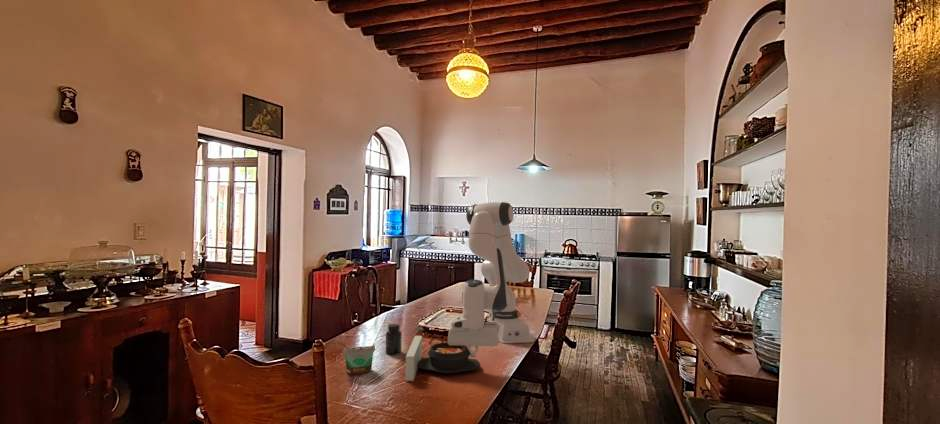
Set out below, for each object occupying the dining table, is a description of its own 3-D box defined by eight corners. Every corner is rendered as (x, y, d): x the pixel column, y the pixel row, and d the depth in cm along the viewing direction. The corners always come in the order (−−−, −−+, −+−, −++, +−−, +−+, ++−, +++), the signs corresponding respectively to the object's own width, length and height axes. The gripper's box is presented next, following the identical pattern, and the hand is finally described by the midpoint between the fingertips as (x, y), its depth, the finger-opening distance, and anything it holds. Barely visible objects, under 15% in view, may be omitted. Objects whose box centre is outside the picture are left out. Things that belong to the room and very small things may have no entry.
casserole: (479, 361, 184) (480, 341, 184) (480, 378, 165) (481, 356, 165) (420, 360, 184) (420, 339, 184) (414, 377, 165) (414, 354, 165)
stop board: (421, 356, 188) (422, 335, 188) (413, 380, 162) (413, 356, 162) (414, 356, 188) (415, 335, 188) (405, 380, 162) (405, 356, 162)
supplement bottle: (395, 348, 198) (395, 322, 197) (404, 352, 193) (404, 325, 193) (382, 352, 193) (382, 325, 192) (391, 356, 188) (392, 328, 188)
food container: (345, 379, 162) (346, 352, 162) (342, 373, 168) (343, 347, 168) (378, 373, 168) (379, 347, 168) (374, 368, 173) (374, 343, 173)
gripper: (498, 320, 177) (498, 354, 177) (448, 319, 177) (447, 353, 177) (500, 324, 171) (499, 359, 171) (447, 323, 171) (446, 358, 171)
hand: (472, 356), depth 174 cm, fingers closed
